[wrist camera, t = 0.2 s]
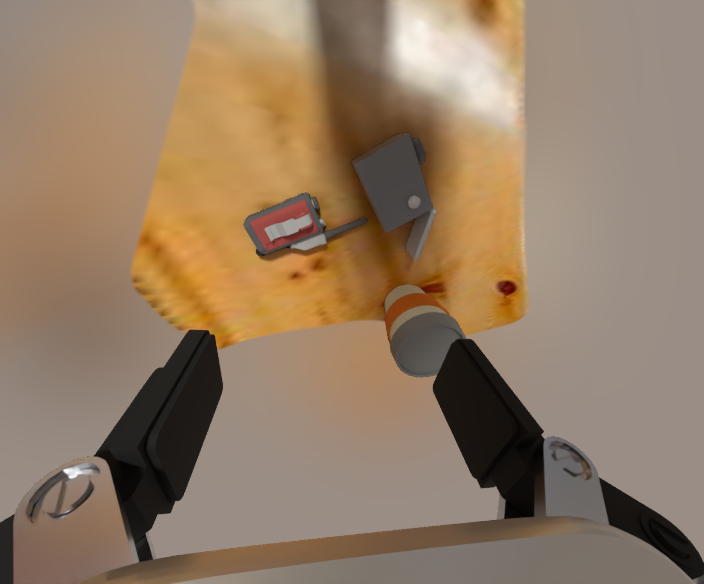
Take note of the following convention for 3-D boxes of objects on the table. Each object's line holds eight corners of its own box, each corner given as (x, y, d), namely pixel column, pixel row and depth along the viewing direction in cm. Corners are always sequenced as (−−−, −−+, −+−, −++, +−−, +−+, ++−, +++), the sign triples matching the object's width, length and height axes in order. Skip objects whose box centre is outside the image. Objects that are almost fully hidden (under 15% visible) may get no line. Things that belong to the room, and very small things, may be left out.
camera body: (350, 161, 39) (355, 164, 34) (408, 127, 38) (423, 125, 32) (379, 224, 45) (387, 235, 40) (430, 196, 43) (445, 205, 38)
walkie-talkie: (265, 262, 46) (368, 223, 45) (261, 273, 43) (372, 231, 41) (238, 217, 42) (351, 172, 40) (230, 225, 38) (355, 175, 36)
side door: (404, 248, 48) (413, 259, 43) (421, 201, 43) (432, 208, 39) (411, 249, 48) (420, 260, 44) (428, 202, 44) (440, 210, 39)
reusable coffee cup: (443, 284, 53) (483, 330, 40) (417, 329, 59) (445, 382, 46) (389, 270, 50) (414, 315, 37) (367, 319, 56) (382, 373, 43)
